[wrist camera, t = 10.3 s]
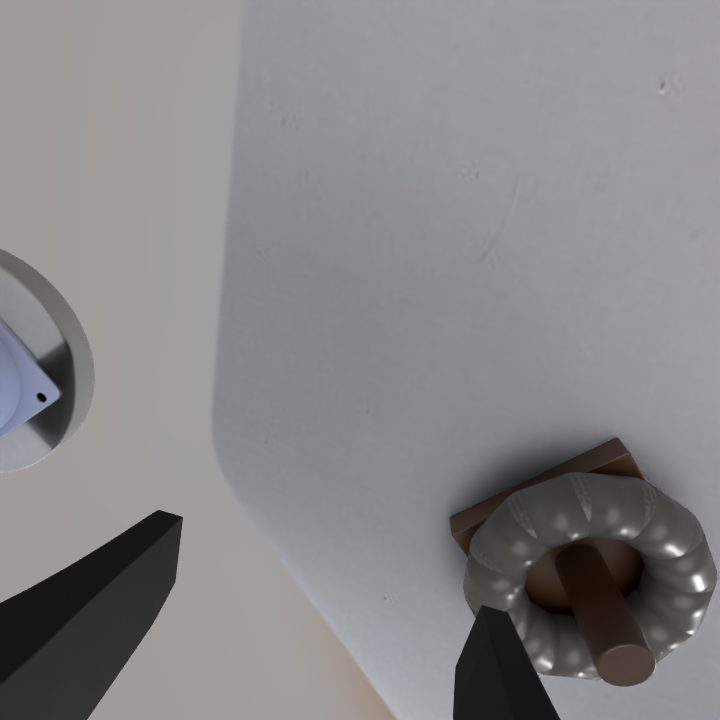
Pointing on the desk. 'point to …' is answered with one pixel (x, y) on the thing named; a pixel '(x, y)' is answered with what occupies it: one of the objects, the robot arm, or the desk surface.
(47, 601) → the robot arm
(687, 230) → the desk surface
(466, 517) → the post
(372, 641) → the desk surface
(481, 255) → the desk surface
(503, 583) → the donut
